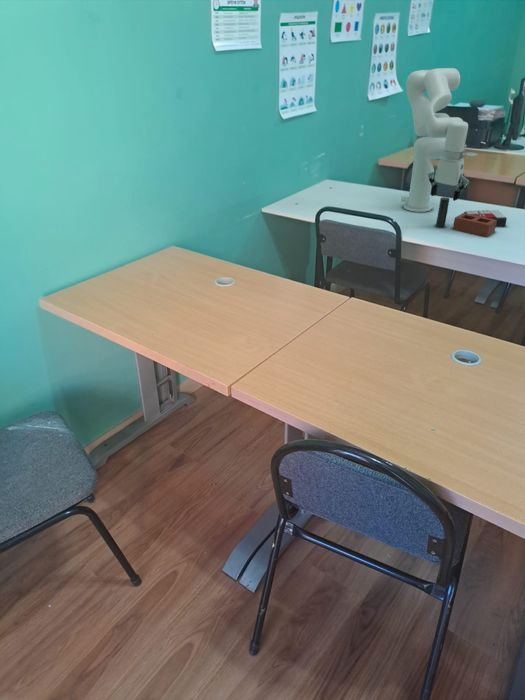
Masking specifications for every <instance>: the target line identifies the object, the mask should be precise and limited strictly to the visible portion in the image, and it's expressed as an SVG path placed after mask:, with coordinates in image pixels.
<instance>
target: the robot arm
mask: <svg viewBox="0 0 525 700" xmlns="http://www.w3.org/2000/svg"><path fill="white" fill-rule="evenodd" d="M405 84H406V85H405V86H406V87H405V90H406V96H407V100H408V103H409V105H410V108H411V113H412V114H411V115H412V121H413V130H414V133H415V135H416V136H418V138H417V139H415V141H414V143H413V149H412V150H413V153H412V155H413V158H412V159H413V160H412V161H413V162H412V171H411V179H410V184H409V192H408V196H405V195H402V196H401V197H400V201H401V202H403V203H404V202H405V203H404V204H403V208H404V210H407V211H410V212H413V213H414V212H415V213H425V212H430V211H431V210H432V208H433V206H432V204H430V199H431V197H433V196H436V195H437V191H438V187H439V186H438V184H443V185H448V186H453V188H455V191H454V192H453V198H452V201H453V202H454V201H457V200H458V199H459V198H460V194H461V190H463V189H465V188H466V187H467V186H468V184H469V183H470V180H469V179H468V178H467V177H465V176H464V169H465V168H464V167H465V159H464V158H466V157H467V154H466V153H465V151H464V150H465V146H466V140H467V136H468V131H469V123H468V122H467V121H464V119H462V118H461V117H457V116H453V117H452V116H450V115H449V114H447V113H445V112H440V111H441V110H443V109H445V108H446V107H447V106H448V105H450V103H451V101H452V98H453V95H452V91H453V92H454V91H455V90H457V89H458V88H459V86H460V84H461V75H460V71H459V70H458V69H457V68H454V67H438V68H436V67H435V68H432V69H421V70H416V71H412V72H411V73H410V74H409V75H407V79H406V83H405ZM424 92H425V93H426V94H427V95H426V94H424ZM433 160H439V161H438V164H437V167H436V170H435V168H434V166H433V163H432V161H433ZM462 182H463V183H462ZM461 183H462V185H461Z"/></svg>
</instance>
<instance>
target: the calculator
mask: <svg viewBox="0 0 525 700" xmlns="http://www.w3.org/2000/svg"><path fill="white" fill-rule="evenodd" d="M463 213H465V214H470V215H475V216H480V217H485V218H489V219H494V220H497V223H496V228H497V227H499V228H500V227H506V224H507V219H508V217H506V216H505V214H503V213H502V212H501V211H500V210H499V209H479V210H465V211H463Z"/></svg>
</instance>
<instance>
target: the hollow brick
mask: <svg viewBox="0 0 525 700" xmlns="http://www.w3.org/2000/svg"><path fill="white" fill-rule="evenodd" d="M496 223H497V220H494V219H489V218H485V217H480V216H475V215H470V214H465V213H464V212H463V213H460V214H459V215H457V216H455V217H454V220H453V224H452V230H455V231H459V232H463V233H468V234H473V235H476V236H481V237H485V238H487V237H489V236H490V235H492V234H493V233H495V231H496V228H497V226H496Z"/></svg>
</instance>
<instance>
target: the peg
mask: <svg viewBox="0 0 525 700" xmlns="http://www.w3.org/2000/svg"><path fill="white" fill-rule="evenodd" d="M449 205H450V197H446V196H442V197H440V200H439V205H438V210H437V216H436V222H435V227H436V228H439V229H444V228H445V227H446V221H447V215H448V209H449Z"/></svg>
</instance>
